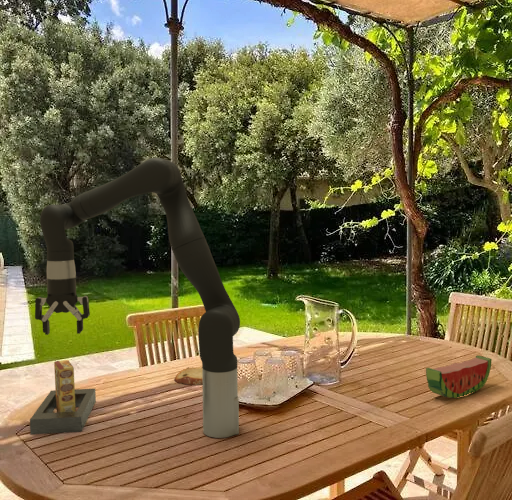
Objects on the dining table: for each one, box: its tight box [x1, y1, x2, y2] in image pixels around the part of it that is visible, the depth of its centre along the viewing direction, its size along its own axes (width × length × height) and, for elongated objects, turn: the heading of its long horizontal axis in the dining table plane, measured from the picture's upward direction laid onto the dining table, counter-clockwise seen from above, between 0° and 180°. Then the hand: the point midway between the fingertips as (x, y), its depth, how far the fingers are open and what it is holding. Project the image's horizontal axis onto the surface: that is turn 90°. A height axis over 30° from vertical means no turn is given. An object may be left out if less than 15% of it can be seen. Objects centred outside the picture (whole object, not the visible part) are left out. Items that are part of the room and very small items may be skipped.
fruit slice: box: [425, 355, 492, 399], centre depth 165 cm, size 26×6×10 cm, turn 123°
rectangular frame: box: [29, 388, 97, 435], centre depth 149 cm, size 13×22×4 cm, turn 8°
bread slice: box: [173, 366, 203, 386], centre depth 182 cm, size 18×18×4 cm
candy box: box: [53, 359, 77, 412], centre depth 148 cm, size 9×4×15 cm, turn 30°
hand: (63, 333), depth 147 cm, fingers open, 8 cm apart
